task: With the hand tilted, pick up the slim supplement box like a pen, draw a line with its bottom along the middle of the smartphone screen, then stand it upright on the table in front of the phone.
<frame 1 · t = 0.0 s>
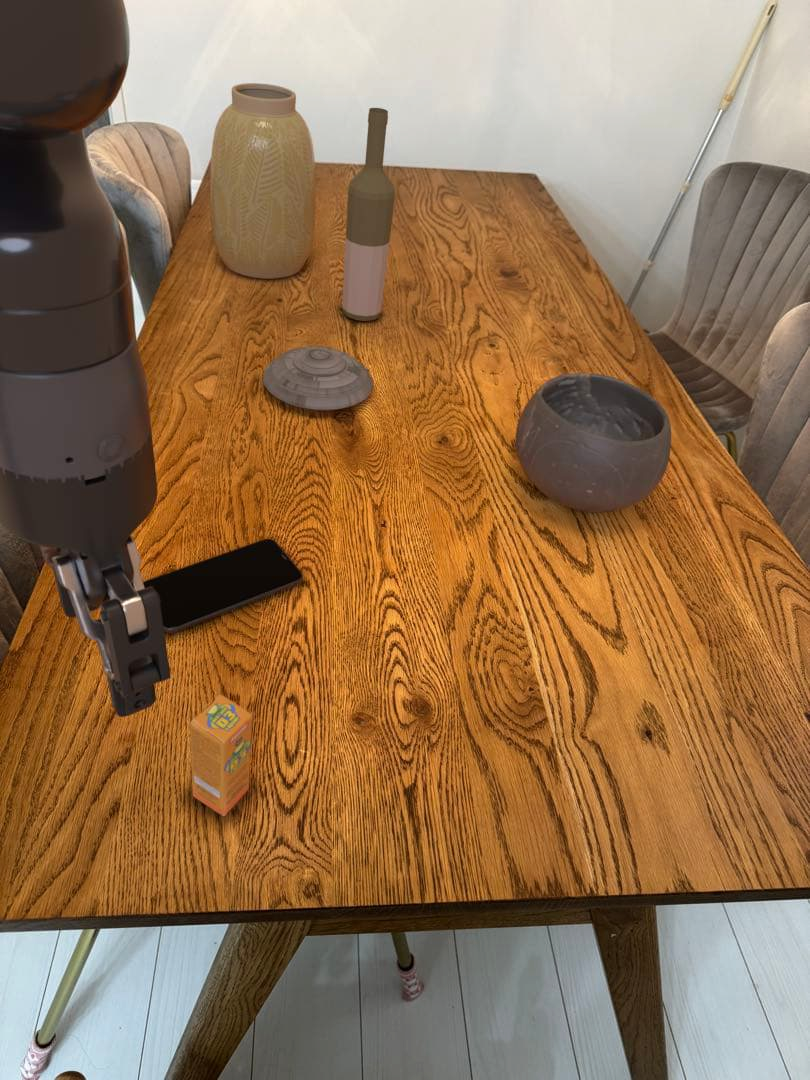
hand: (107, 656, 48), 20 cm above the table, tool pointing down, fingers open, 8 cm apart
flying saucer: (317, 390, 112), on the table
vase: (263, 264, 141), on the table
bottle: (361, 316, 131), on the table
bowl: (576, 492, 101), on the table
supplement box: (223, 795, 64), on the table
smartphone: (222, 587, 81), on the table
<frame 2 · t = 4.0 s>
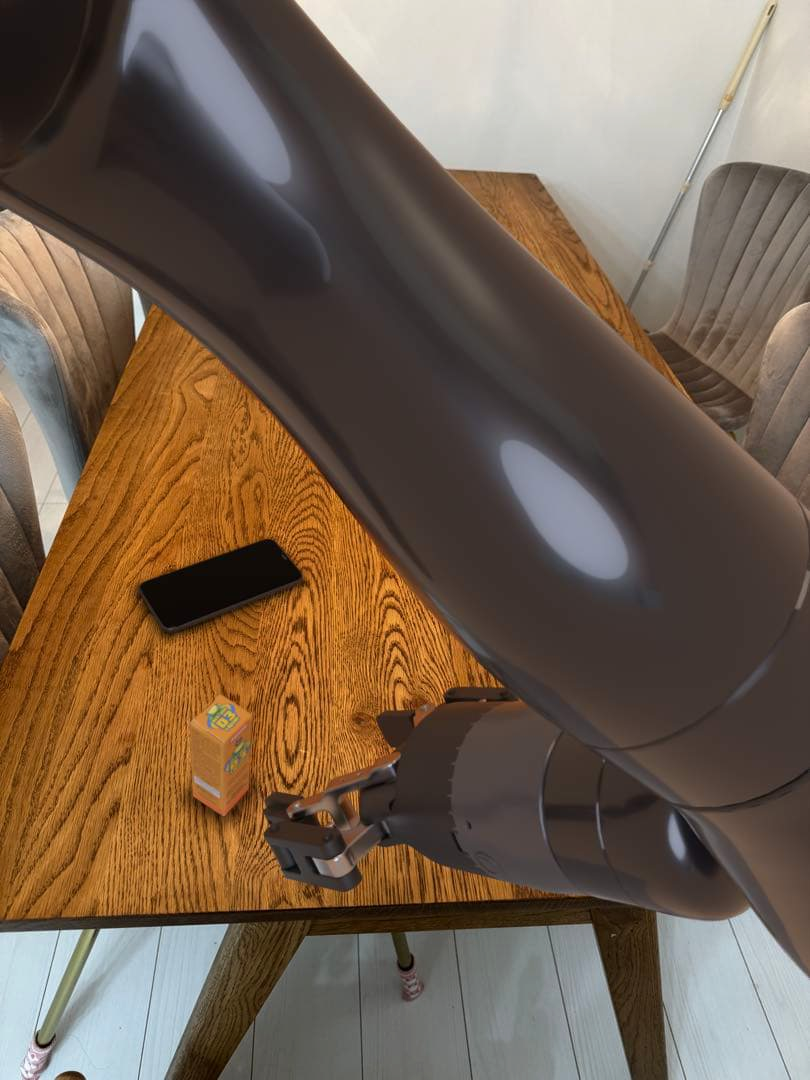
hand: (332, 768, 48), 17 cm above the table, tool tilted 45°, fingers open, 8 cm apart
nothing on the table moved.
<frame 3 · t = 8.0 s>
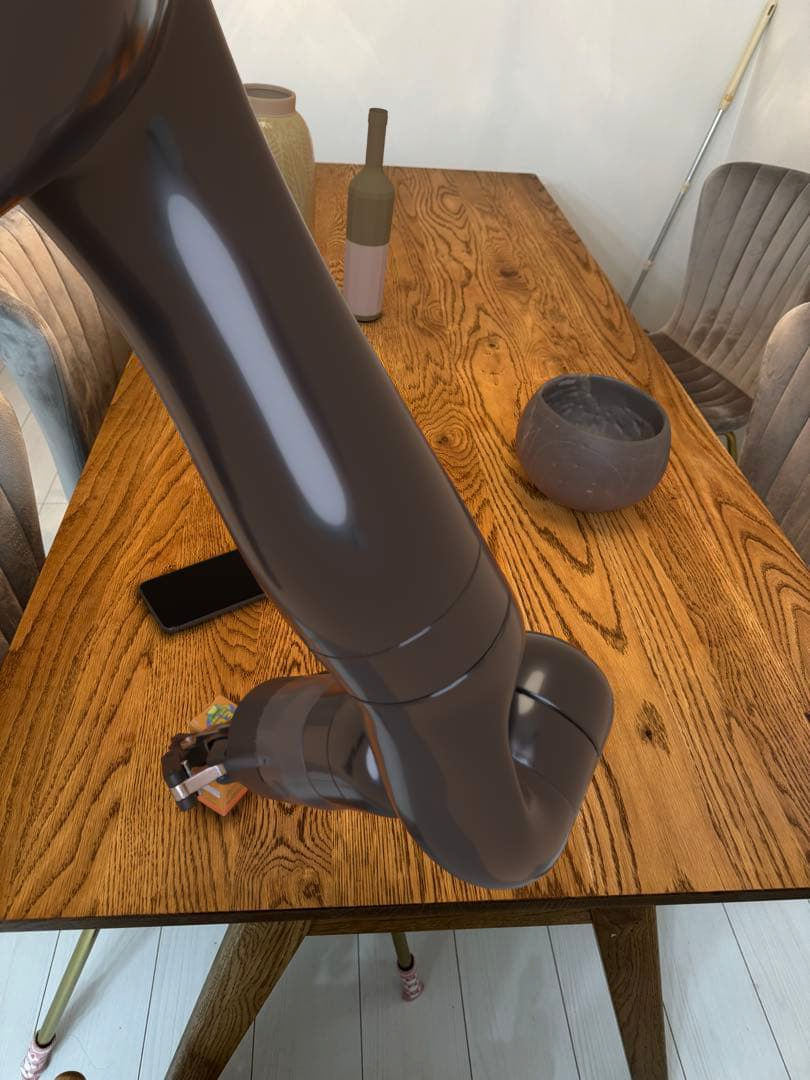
hand: (205, 732, 61), 6 cm above the table, tool tilted 45°, fingers closed on supplement box, 4 cm apart
supplement box: (223, 795, 64), on the table, touching gripper
everything else where it was.
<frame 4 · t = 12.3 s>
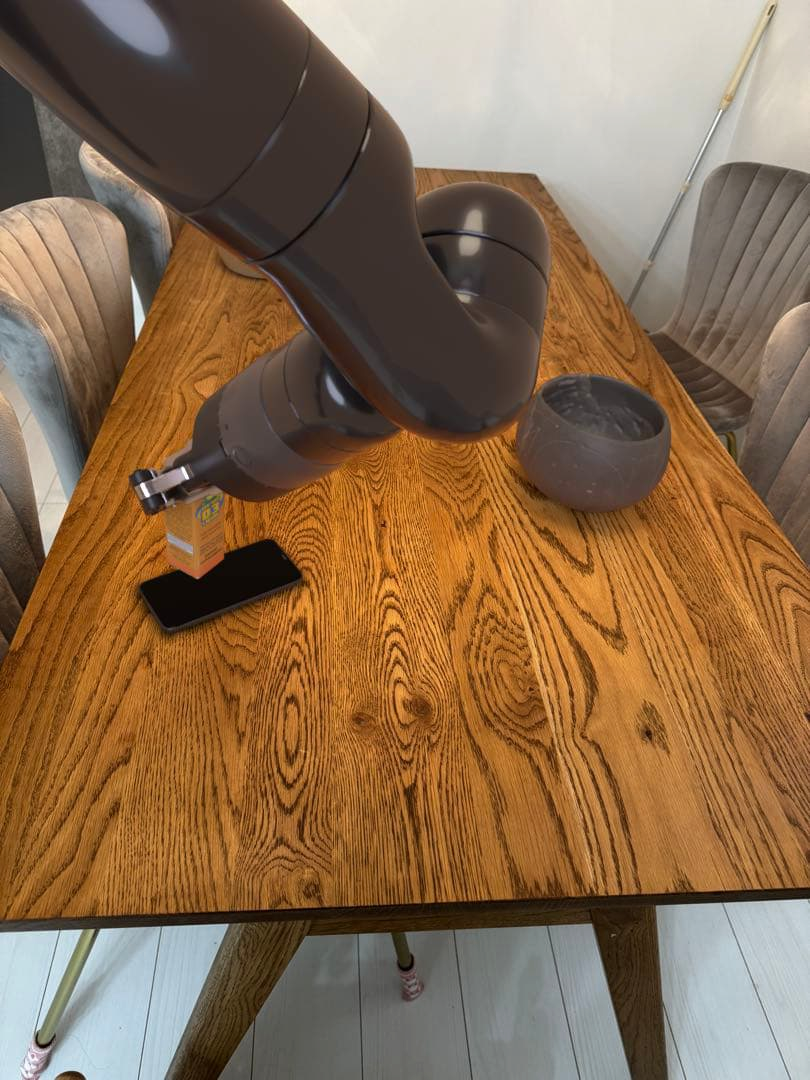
hand: (178, 488, 61), 20 cm above the table, tool tilted 45°, fingers closed on supplement box, 4 cm apart
supplement box: (198, 563, 64), point 14 cm above the table, touching gripper
everything else where it was.
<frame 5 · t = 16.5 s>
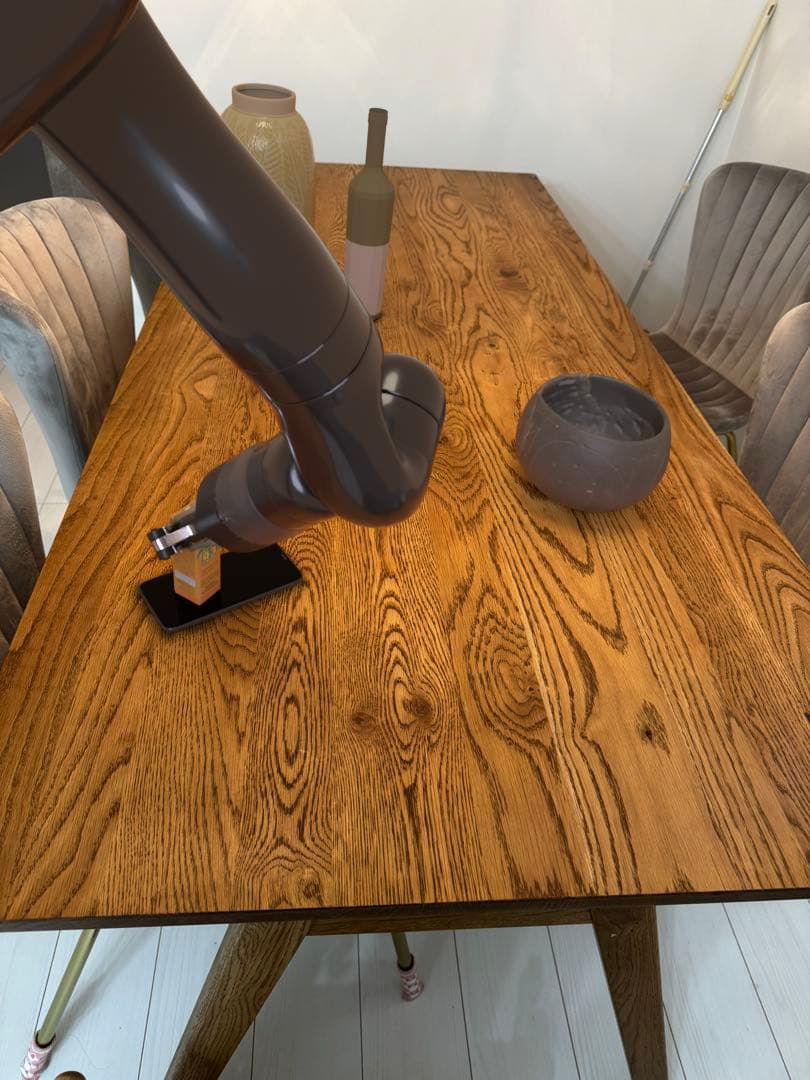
hand: (183, 534, 76), 7 cm above the table, tool tilted 45°, fingers closed on supplement box, 4 cm apart
supplement box: (199, 593, 79), point 1 cm above the table, touching gripper
everything else where it was.
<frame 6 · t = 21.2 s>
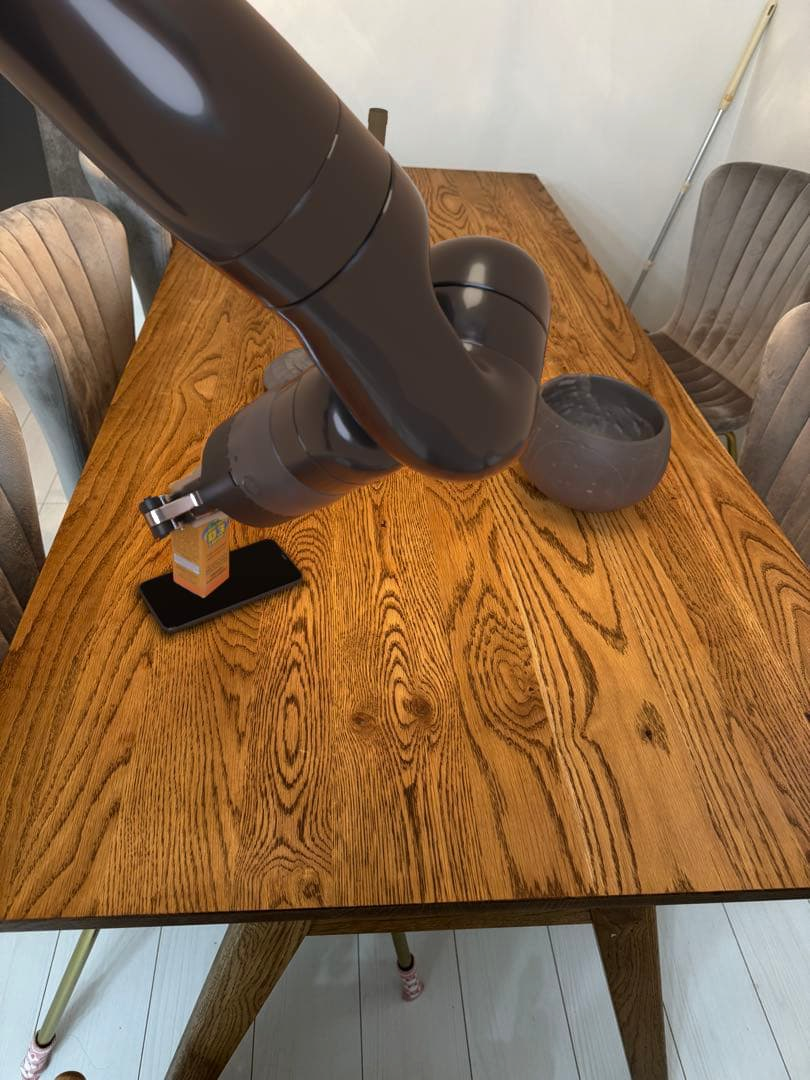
hand: (184, 510, 62), 18 cm above the table, tool tilted 45°, fingers closed on supplement box, 4 cm apart
supplement box: (203, 582, 66), point 11 cm above the table, touching gripper
everything else where it was.
when the fingers open (6 cm above the table, at t = 25.1 s): supplement box stays where it is, on the table.
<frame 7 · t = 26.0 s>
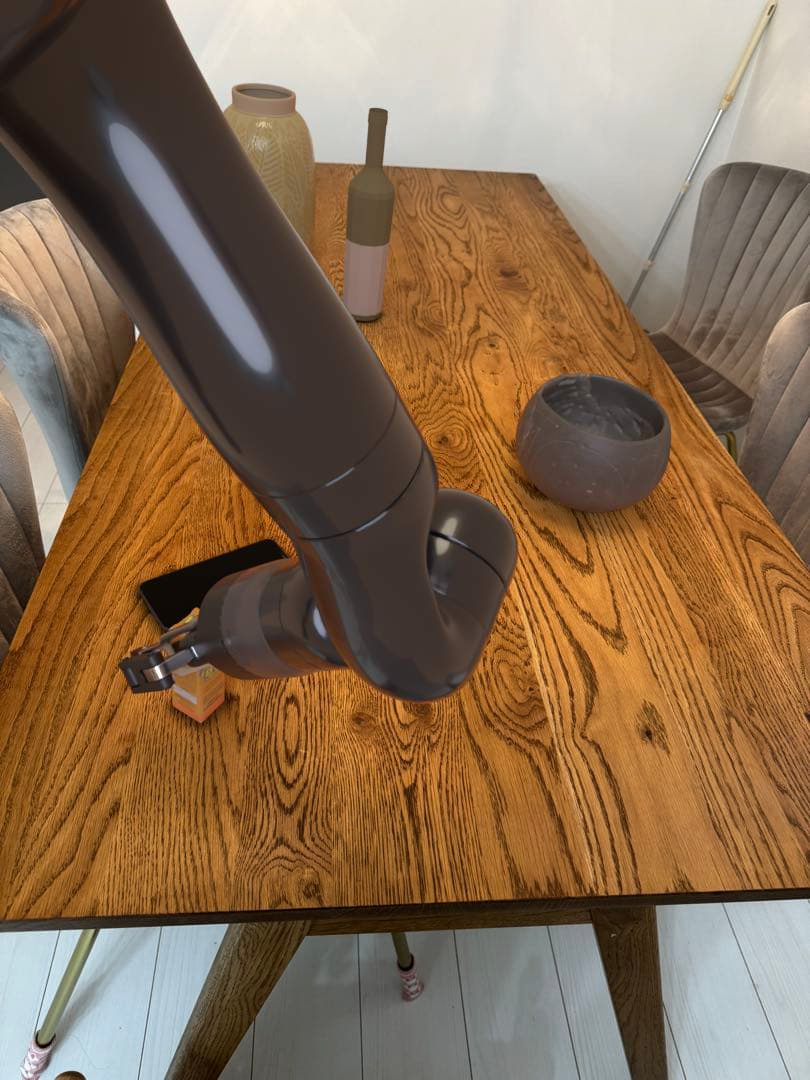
hand: (186, 636, 66), 8 cm above the table, tool tilted 45°, fingers open, 8 cm apart
supplement box: (200, 705, 70), on the table
everything else where it was.
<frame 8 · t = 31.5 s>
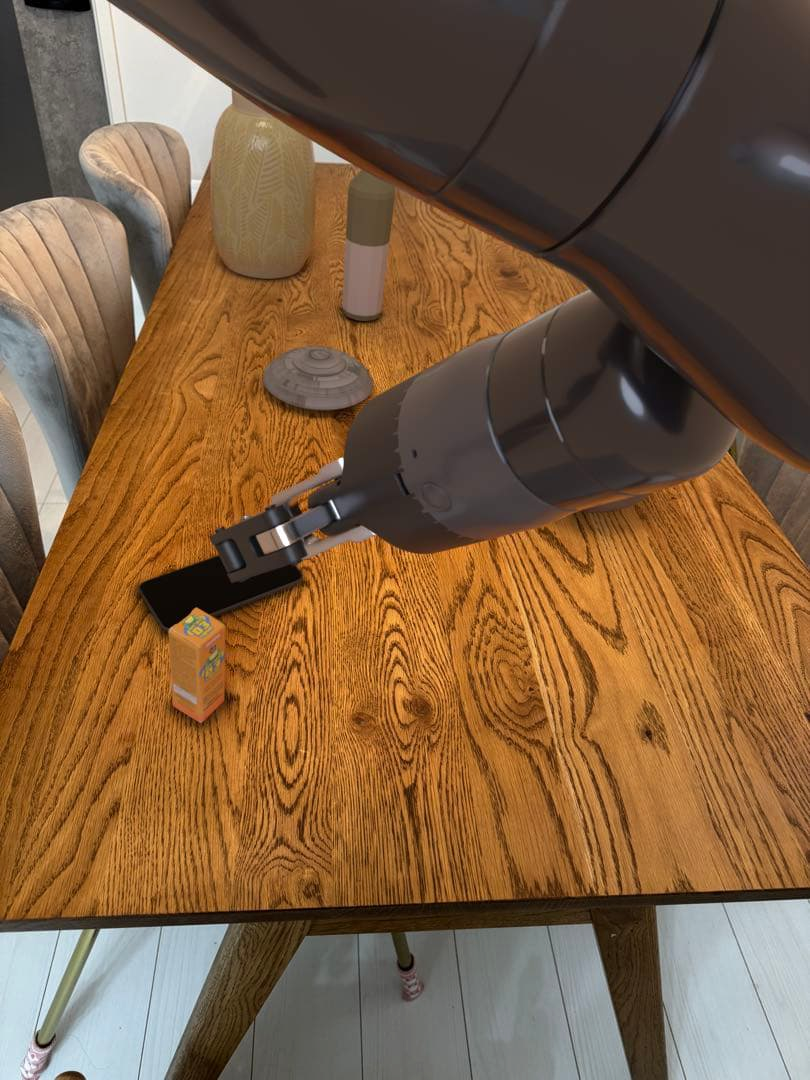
hand: (291, 520, 46), 29 cm above the table, tool tilted 45°, fingers open, 8 cm apart
nothing on the table moved.
at the end: supplement box 0.2 cm from the target spot on the table beside the smartphone, on the table; supplement box tilted 0°; smartphone moved 0.0 cm from its start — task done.
